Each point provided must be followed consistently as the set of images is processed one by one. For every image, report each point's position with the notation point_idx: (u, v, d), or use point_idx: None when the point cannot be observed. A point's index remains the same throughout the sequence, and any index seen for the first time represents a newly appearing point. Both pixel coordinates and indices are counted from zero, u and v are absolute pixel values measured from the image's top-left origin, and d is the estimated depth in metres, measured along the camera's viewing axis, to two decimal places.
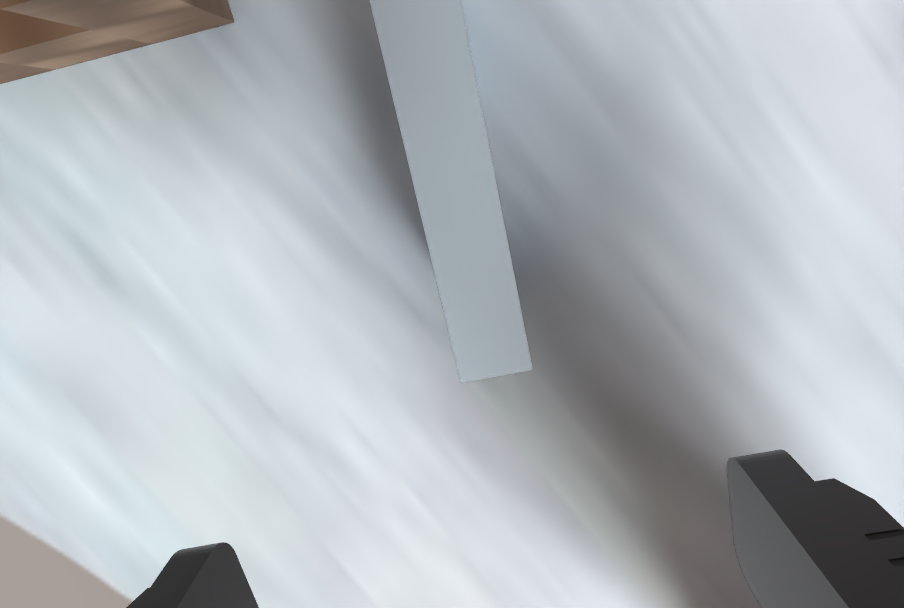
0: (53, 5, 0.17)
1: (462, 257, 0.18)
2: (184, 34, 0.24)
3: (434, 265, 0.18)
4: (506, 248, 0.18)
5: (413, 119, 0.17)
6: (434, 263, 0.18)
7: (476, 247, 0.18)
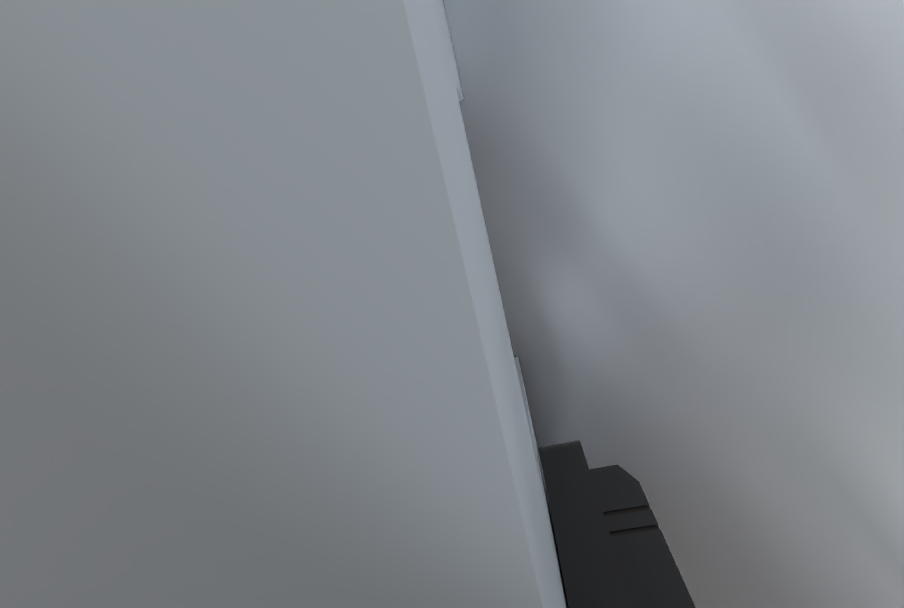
0: None
1: None
2: None
3: None
4: None
5: None
6: None
7: None
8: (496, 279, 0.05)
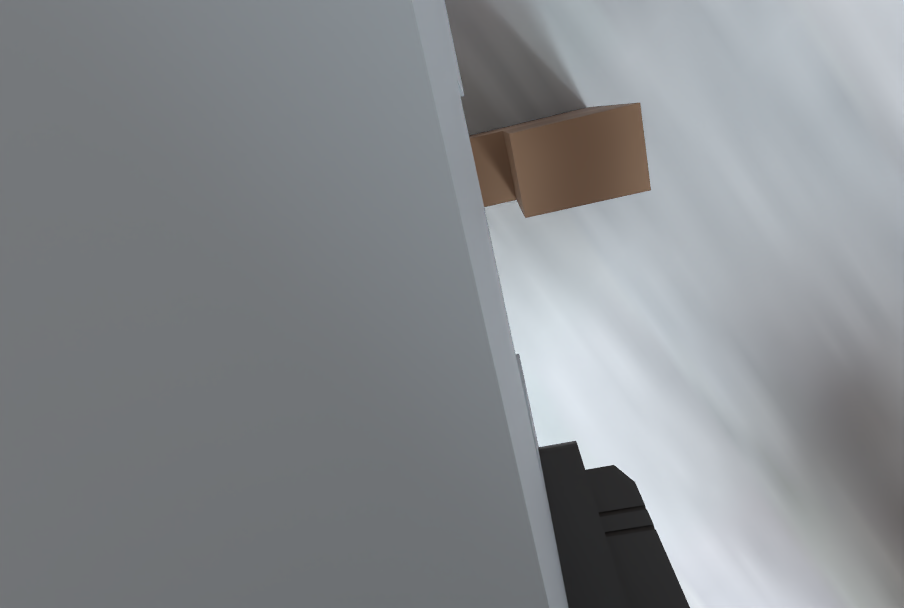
0: None
1: None
2: None
3: None
4: None
5: None
6: None
7: None
8: (497, 273, 0.05)
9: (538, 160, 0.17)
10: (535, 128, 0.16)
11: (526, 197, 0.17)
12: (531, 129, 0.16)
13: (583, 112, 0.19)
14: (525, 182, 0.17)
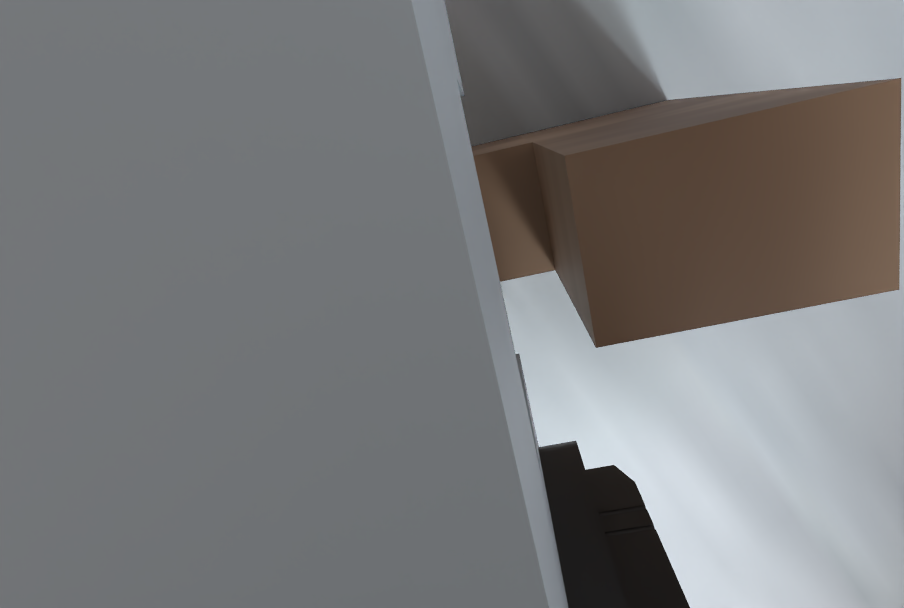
0: None
1: None
2: None
3: None
4: None
5: None
6: None
7: None
8: (497, 272, 0.05)
9: (633, 220, 0.07)
10: (629, 143, 0.07)
11: (601, 303, 0.07)
12: (619, 145, 0.07)
13: (701, 106, 0.09)
14: (599, 269, 0.07)
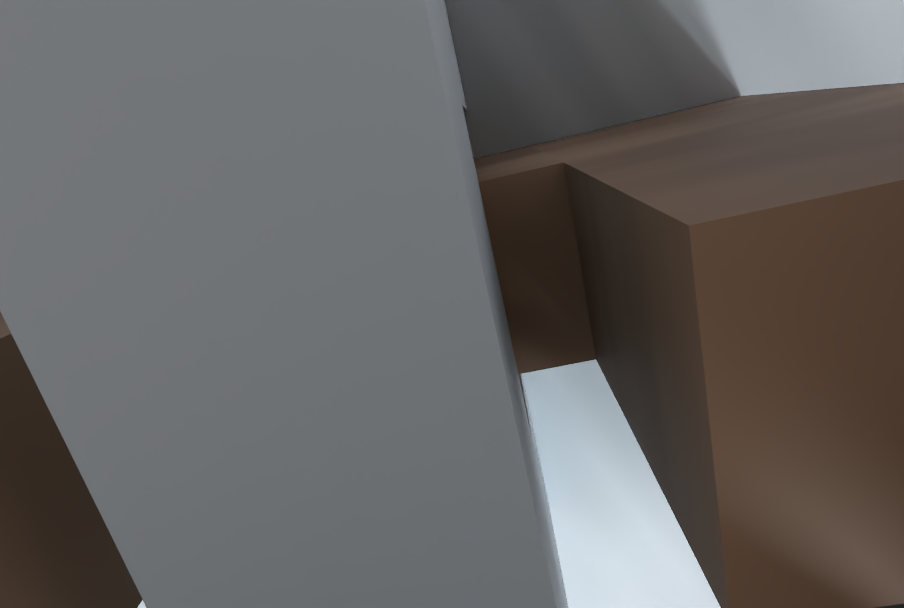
0: None
1: None
2: None
3: None
4: None
5: (36, 193, 0.03)
6: None
7: None
8: (494, 262, 0.07)
9: (845, 374, 0.03)
10: (856, 194, 0.03)
11: (752, 544, 0.03)
12: (831, 200, 0.03)
13: (870, 103, 0.05)
14: (752, 478, 0.03)
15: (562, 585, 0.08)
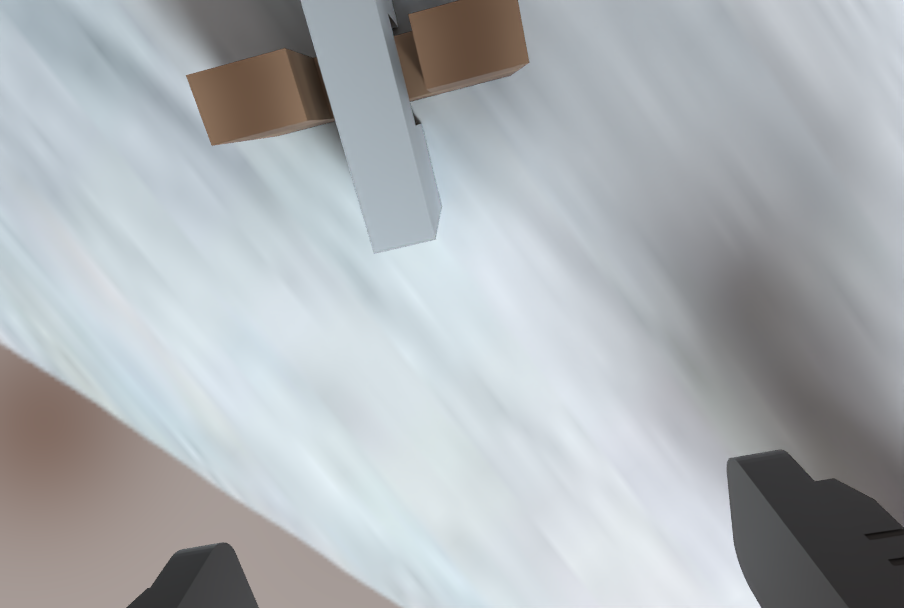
0: (456, 82, 0.21)
1: (367, 136, 0.21)
2: (467, 86, 0.28)
3: (344, 145, 0.21)
4: (404, 127, 0.21)
5: (317, 11, 0.20)
6: (343, 143, 0.21)
7: (379, 127, 0.21)
8: (398, 58, 0.23)
9: (434, 38, 0.20)
10: (429, 9, 0.19)
11: (426, 71, 0.20)
12: (426, 10, 0.19)
13: None
14: (424, 57, 0.20)
15: (429, 180, 0.25)
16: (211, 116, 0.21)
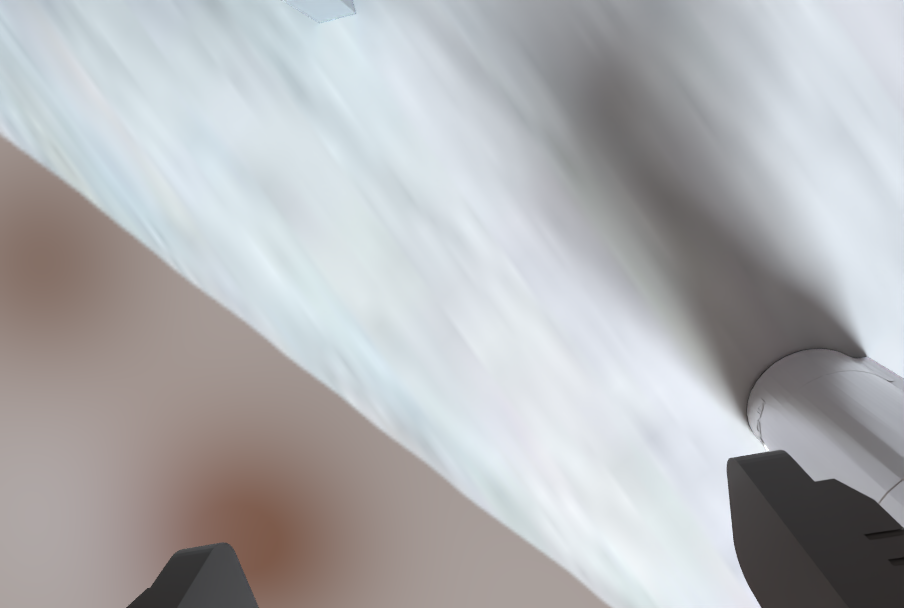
0: None
1: None
2: None
3: None
4: None
5: None
6: None
7: None
8: None
9: None
10: None
11: None
12: None
13: None
14: None
15: None
16: None
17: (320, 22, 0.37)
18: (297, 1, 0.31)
